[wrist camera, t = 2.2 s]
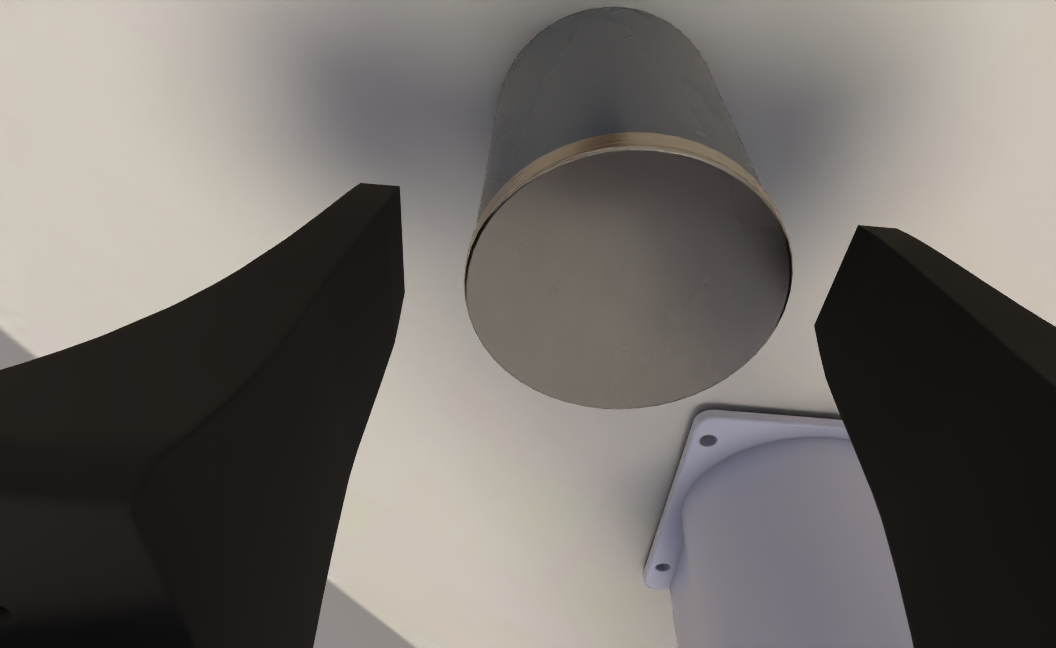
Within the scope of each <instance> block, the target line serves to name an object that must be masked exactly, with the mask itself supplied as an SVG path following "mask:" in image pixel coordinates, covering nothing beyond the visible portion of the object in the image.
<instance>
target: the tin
mask: <svg viewBox="0 0 1056 648" xmlns="http://www.w3.org/2000/svg"><path fill="white" fill-rule="evenodd" d="M792 276H793V267H792V253H791V248H790V243H789V238H788V236H787V233H786V231H785V228H784V225H783V223H782V221H781V218H780V216H779V214H778V212H777V210H776V208H775V206H774V204H773V203H772V201H771V199H770V198H769V196H768V194H767V193H766V191H765V190H764V189H763V188H762V186H761V184H760V181H759V179H758V177H757V175H756V173H755V170H754V168H753V166H752V164H751V162H750V159H749V157H748V155H747V153H746V151H745V149H744V146H743V144H742V142H741V140H740V138H739V135H738V133H737V131H736V129H735V127H734V124H733V122H732V120H731V118H730V116H729V113H728V111H727V109H726V107H725V105H724V102H723V100H722V98H721V96H720V94H719V91H718V89H717V87H716V85H715V83H714V80H713V78H712V76H711V74H710V72H709V69H708V67H707V65H706V63H705V61H704V60H703V58H702V56H701V54H700V53H699V51H698V50H697V49H696V47H695V46H694V45H693V44H692V42H691V41H690V40H689V39H688V38H687V37H686V36H685V35H684V34H682V33H681V32H680V31H679V30H678V29H676V28H675V27H673V26H672V25H670V24H669V23H667V22H666V21H664V20H662V19H660V18H657V17H655V16H653V15H650V14H647V13H644V12H641V11H637V10H631V9H625V8H601V9H593V10H588V11H584V12H580V13H576V14H574V15H571V16H569V17H566V18H564V19H561V20H560V21H558V22H556V23H554V24H553V25H551V26H549V27H547V28H546V29H545V30H544V31H542V32H541V33H540V34H538V35H537V36H536V37H535V38H534V39H533V40H532V41H531V42H530V43H529V44H528V45H527V46H526V47H525V48H524V49H523V50H522V51H521V53H520V54H519V55H518V57H517V58H516V59H515V61H514V63H513V64H512V66H511V68H510V70H509V71H508V74H507V76H506V79H505V81H504V83H503V86H502V90H501V94H500V98H499V103H498V108H497V114H496V119H495V125H494V130H493V136H492V141H491V147H490V152H489V158H488V164H487V169H486V175H485V180H484V186H483V191H482V197H481V202H480V208H479V213H478V219H477V224H476V228H475V230H474V232H473V235H472V239H471V243H470V247H469V250H468V255H467V261H466V267H465V277H464V290H465V301H466V306H467V310H468V315H469V317H470V320H471V322H472V325H473V327H474V330H475V332H476V334H477V335H478V337H479V339H480V341H481V342H482V344H483V346H484V347H485V348H486V350H487V351H488V352H489V353H490V355H491V356H492V357H493V359H494V360H495V361H496V362H497V363H498V364H500V365H501V366H502V367H503V368H504V369H505V370H506V371H507V372H508V373H510V374H511V375H512V376H514V377H515V378H516V379H518V380H519V381H520V382H522V383H524V384H526V385H527V386H529V387H531V388H532V389H534V390H536V391H538V392H541V393H543V394H545V395H547V396H550V397H552V398H556V399H559V400H562V401H565V402H568V403H572V404H577V405H581V406H587V407H595V408H603V409H632V408H643V407H650V406H657V405H661V404H666V403H670V402H674V401H677V400H680V399H683V398H686V397H689V396H692V395H695V394H697V393H699V392H701V391H704V390H706V389H708V388H710V387H712V386H714V385H715V384H717V383H719V382H721V381H722V380H724V379H726V378H727V377H729V376H730V375H732V374H733V373H734V372H736V371H737V370H738V369H740V368H741V367H742V366H744V365H745V364H746V363H747V362H748V361H749V360H750V359H751V358H752V357H753V356H755V355H756V353H757V352H758V351H759V350H760V349H761V348H762V346H763V345H764V344H765V343H766V342H767V340H768V339H769V337H770V336H771V334H772V333H773V331H774V330H775V328H776V327H777V325H778V323H779V321H780V319H781V317H782V315H783V313H784V310H785V307H786V304H787V301H788V298H789V294H790V290H791V283H792Z"/></svg>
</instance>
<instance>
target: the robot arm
mask: <svg viewBox="0 0 1056 648" xmlns="http://www.w3.org/2000/svg"><path fill="white" fill-rule="evenodd" d="M404 293H405V289H404V267H403V246H402V224H401V202H400V186H390V185H378V184H367V183H360V184H358V185H357V186H355V187H354V188H353V189H351V190H350V191H349V192H347V193H346V194H345V195H343V196H342V197H341V198H340V199H338V200H337V201H336V202H334V203H333V204H332V205H331V206H329V207H328V208H327V209H325V210H324V211H323V212H322V213H320V214H319V215H318V216H316V217H315V218H314V219H312V220H311V221H310V222H308V223H307V224H305V225H304V226H303V227H301V228H300V229H299V230H297V231H296V232H295V233H293V234H292V235H291V236H289V237H288V238H287V239H285V240H284V241H282V242H281V243H279V244H278V245H276V246H275V247H273V248H272V249H270V250H268V251H267V252H265V253H264V254H262V255H261V256H259V257H258V258H256V259H255V260H253V261H252V262H250V263H249V264H247V265H246V266H244V267H243V268H241V269H240V270H238V271H236V272H235V273H233V274H231V275H229V276H228V277H226V278H224V279H223V280H221V281H219V282H217V283H215V284H214V285H212V286H210V287H208V288H206V289H204V290H202V291H200V292H198V293H196V294H195V295H193V296H191V297H189V298H187V299H185V300H183V301H181V302H179V303H177V304H175V305H173V306H171V307H169V308H166V309H164V310H162V311H159V312H157V313H155V314H152V315H150V316H148V317H145V318H143V319H141V320H138V321H136V322H134V323H131V324H129V325H127V326H124V327H122V328H120V329H117V330H115V331H112V332H110V333H108V334H105V335H103V336H100V337H98V338H95V339H92V340H89V341H87V342H84V343H81V344H78V345H75V346H73V347H70V348H67V349H64V350H62V351H58V352H55V353H52V354H49V355H46V356H43V357H40V358H37V359H34V360H31V361H28V362H25V363H22V364H18V365H15V366H12V367H8V368H5V369H2V370H0V648H313V644H314V640H315V635H316V630H317V624H318V620H319V614H320V609H321V604H322V599H323V594H324V589H325V585H326V580H327V575H328V570H329V566H330V561H331V556H332V552H333V547H334V542H335V538H336V533H337V529H338V524H339V520H340V515H341V511H342V507H343V502H344V498H345V493H346V489H347V485H348V480H349V477H350V473H351V470H352V467H353V463H354V460H355V456H356V453H357V450H358V447H359V444H360V442H361V439H362V436H363V433H364V430H365V427H366V424H367V422H368V419H369V416H370V413H371V410H372V407H373V404H374V402H375V399H376V396H377V393H378V390H379V387H380V384H381V382H382V379H383V376H384V373H385V370H386V367H387V364H388V361H389V358H390V355H391V352H392V349H393V346H394V343H395V338H396V334H397V329H398V324H399V319H400V314H401V309H402V303H403V298H404ZM814 327H815V332H816V337H817V342H818V347H819V352H820V356H821V360H822V364H823V369H824V373H825V377H826V380H827V382H828V385H829V388H830V390H831V393H832V395H833V398H834V401H835V403H836V406H837V408H838V411H839V413H840V416H841V418H842V420H837V419H824V418H812V417H800V416H787V415H775V414H762V413H750V412H738V411H725V410H706V411H703V412H701V413H699V414H698V415H697V416H696V417H695V419H694V421H693V424H692V427H691V430H690V433H689V436H688V439H687V442H686V445H685V448H684V451H683V454H682V457H681V460H680V463H679V466H678V469H677V472H676V475H675V478H674V481H673V484H672V487H671V490H670V493H669V496H668V499H667V502H666V505H665V509H664V512H663V515H662V518H661V521H660V524H659V527H658V530H657V533H656V536H655V539H654V542H653V545H652V548H651V551H650V554H649V557H648V560H647V563H646V566H645V569H644V572H643V576H644V583H645V584H646V585H647V586H649V587H651V588H657V589H670V592H671V600H672V608H673V616H674V623H675V631H676V639H677V647H678V648H1056V327H1055V326H1053V325H1052V324H1050V323H1048V322H1047V321H1045V320H1043V319H1042V318H1040V317H1038V316H1037V315H1035V314H1034V313H1032V312H1030V311H1029V310H1027V309H1026V308H1024V307H1022V306H1021V305H1019V304H1018V303H1016V302H1015V301H1013V300H1011V299H1010V298H1008V297H1007V296H1005V295H1004V294H1002V293H1001V292H999V291H998V290H996V289H994V288H993V287H991V286H990V285H988V284H987V283H985V282H984V281H982V280H981V279H979V278H978V277H976V276H975V275H973V274H972V273H970V272H969V271H967V270H965V269H964V268H962V267H961V266H959V265H958V264H956V263H955V262H953V261H952V260H950V259H949V258H947V257H946V256H944V255H942V254H941V253H939V252H938V251H936V250H934V249H933V248H931V247H930V246H928V245H926V244H925V243H923V242H921V241H920V240H918V239H916V238H914V237H913V236H911V235H909V234H907V233H905V232H903V231H901V230H899V229H896V228H884V227H873V226H861V225H858V227H857V229H856V231H855V234H854V236H853V238H852V240H851V243H850V245H849V247H848V250H847V252H846V254H845V256H844V259H843V261H842V263H841V266H840V268H839V270H838V272H837V275H836V277H835V279H834V281H833V284H832V286H831V288H830V291H829V293H828V295H827V297H826V300H825V302H824V304H823V307H822V309H821V311H820V313H819V316H818V318H817V320H816V323H815V325H814ZM705 435H710V436H707V437H703V436H705Z"/></svg>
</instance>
